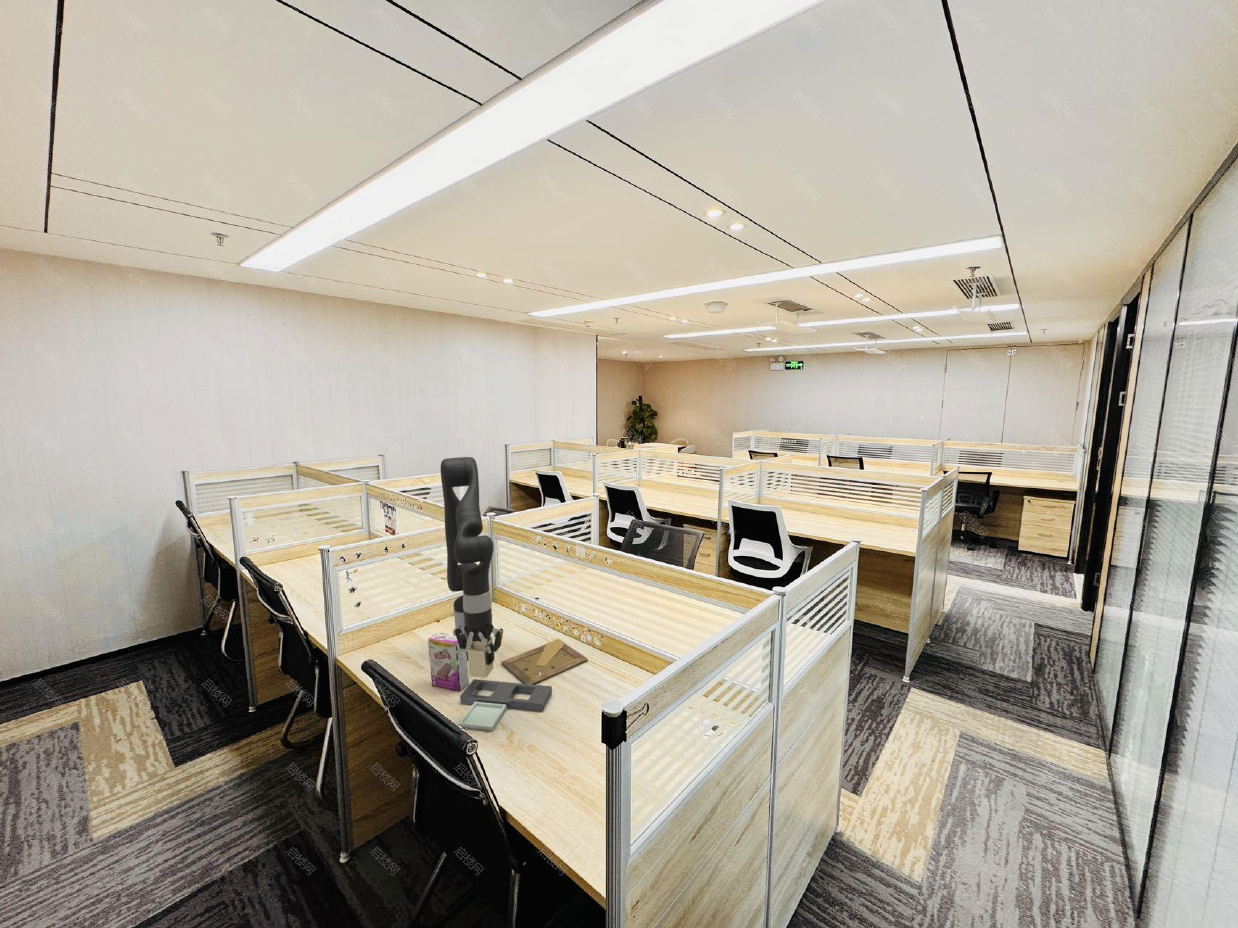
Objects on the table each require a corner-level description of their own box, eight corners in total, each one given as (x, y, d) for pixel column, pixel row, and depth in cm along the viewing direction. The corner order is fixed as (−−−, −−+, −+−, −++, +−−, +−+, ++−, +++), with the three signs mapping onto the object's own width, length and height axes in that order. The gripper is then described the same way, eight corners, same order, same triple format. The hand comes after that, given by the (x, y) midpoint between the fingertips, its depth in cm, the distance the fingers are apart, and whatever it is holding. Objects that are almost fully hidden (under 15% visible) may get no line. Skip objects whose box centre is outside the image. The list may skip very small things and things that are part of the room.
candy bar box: (430, 686, 163) (426, 638, 160) (441, 677, 167) (437, 631, 165) (460, 692, 159) (456, 643, 157) (469, 683, 164) (466, 636, 161)
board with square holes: (460, 703, 153) (460, 695, 153) (474, 686, 162) (473, 679, 162) (542, 711, 149) (542, 703, 148) (552, 693, 158) (551, 686, 157)
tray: (459, 728, 142) (458, 723, 142) (475, 706, 152) (474, 701, 152) (492, 731, 141) (492, 726, 140) (506, 709, 150) (506, 704, 150)
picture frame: (558, 642, 190) (500, 665, 175) (558, 638, 190) (500, 661, 175) (588, 662, 176) (528, 689, 161) (587, 657, 176) (527, 684, 161)
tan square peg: (469, 676, 142) (467, 649, 141) (477, 666, 147) (475, 641, 146) (486, 677, 141) (484, 651, 140) (493, 668, 146) (491, 642, 145)
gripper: (446, 610, 139) (451, 668, 141) (496, 613, 136) (499, 672, 139) (459, 599, 146) (463, 654, 149) (506, 601, 144) (510, 657, 146)
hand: (481, 662), depth 144 cm, fingers closed on tan square peg, 5 cm apart
